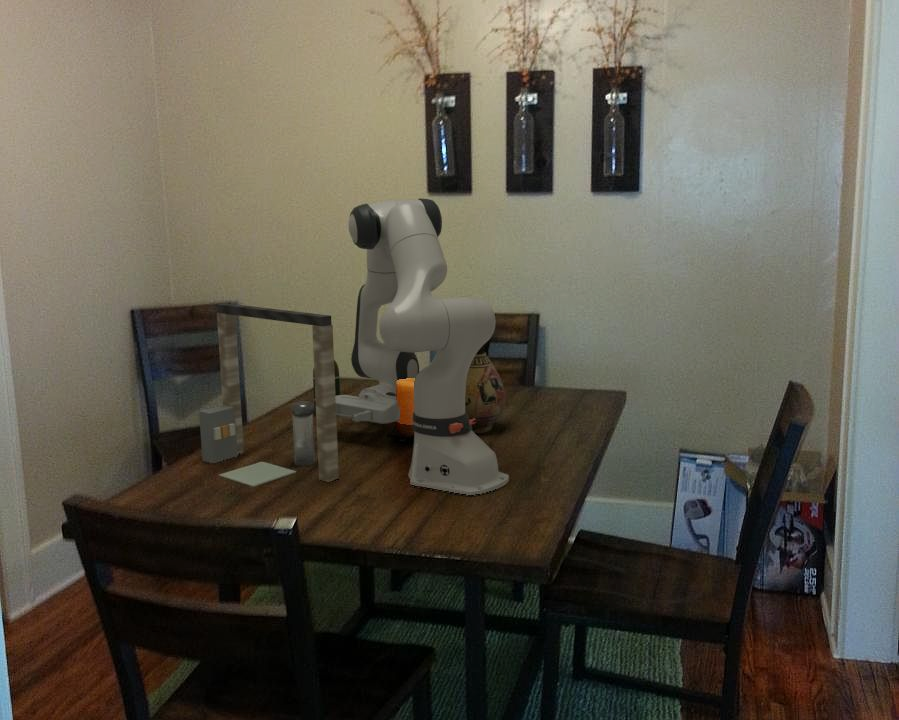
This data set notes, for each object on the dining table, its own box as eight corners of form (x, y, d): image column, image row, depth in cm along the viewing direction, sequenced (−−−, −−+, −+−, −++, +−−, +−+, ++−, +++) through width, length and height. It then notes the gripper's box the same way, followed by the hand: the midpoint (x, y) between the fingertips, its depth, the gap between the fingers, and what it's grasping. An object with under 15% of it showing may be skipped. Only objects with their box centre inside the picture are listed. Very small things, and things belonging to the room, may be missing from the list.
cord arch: (338, 479, 193) (332, 315, 186) (328, 483, 191) (321, 317, 184) (236, 450, 215) (226, 303, 208) (225, 453, 213) (216, 304, 206)
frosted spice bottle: (320, 462, 205) (318, 403, 203) (303, 467, 201) (301, 407, 199) (305, 458, 209) (303, 400, 206) (288, 463, 205) (285, 404, 202)
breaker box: (239, 457, 210) (236, 408, 208) (214, 464, 205) (211, 414, 202) (227, 453, 213) (224, 405, 211) (202, 460, 208) (199, 411, 205)
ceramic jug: (482, 440, 220) (482, 321, 215) (434, 431, 230) (432, 316, 224) (520, 425, 234) (520, 313, 228) (472, 417, 243) (471, 308, 237)
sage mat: (296, 472, 198) (296, 471, 198) (253, 486, 189) (253, 485, 189) (262, 462, 205) (262, 461, 205) (219, 475, 196) (218, 474, 196)
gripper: (343, 386, 230) (306, 397, 218) (406, 396, 218) (370, 408, 207) (344, 410, 231) (307, 422, 220) (406, 421, 219) (371, 434, 208)
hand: (338, 415), depth 213 cm, fingers open, 8 cm apart
